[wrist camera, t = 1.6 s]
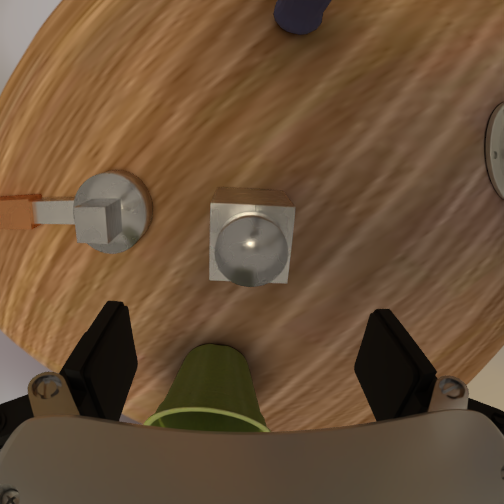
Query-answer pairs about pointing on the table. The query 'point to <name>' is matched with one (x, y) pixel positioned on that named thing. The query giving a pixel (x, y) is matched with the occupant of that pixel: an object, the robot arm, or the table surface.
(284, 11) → the rubber mallet
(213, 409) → the plant pot
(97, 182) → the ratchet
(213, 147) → the table surface
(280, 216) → the socket
